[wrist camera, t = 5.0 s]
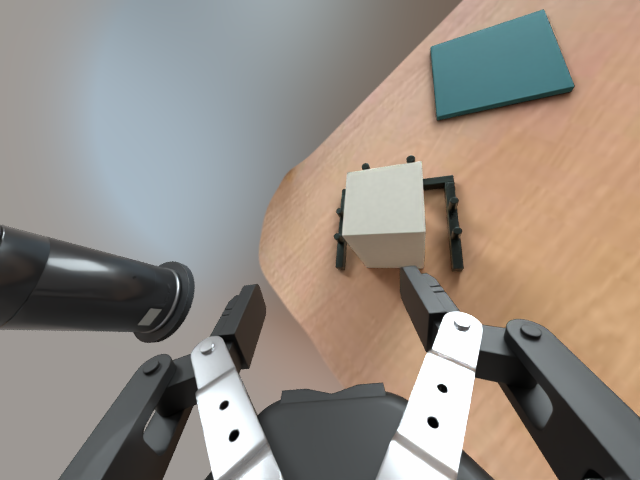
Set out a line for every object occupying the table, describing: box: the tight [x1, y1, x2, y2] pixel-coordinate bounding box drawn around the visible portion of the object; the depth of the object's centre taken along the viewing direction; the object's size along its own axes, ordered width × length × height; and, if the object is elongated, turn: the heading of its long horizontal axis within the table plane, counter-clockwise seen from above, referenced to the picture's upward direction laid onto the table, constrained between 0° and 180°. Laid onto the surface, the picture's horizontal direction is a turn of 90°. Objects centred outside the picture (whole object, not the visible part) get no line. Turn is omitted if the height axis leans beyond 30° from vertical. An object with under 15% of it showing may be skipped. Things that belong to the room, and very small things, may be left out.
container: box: [342, 161, 426, 268], centre depth 20 cm, size 6×6×9 cm
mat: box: [431, 9, 574, 120], centre depth 27 cm, size 12×13×1 cm
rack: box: [334, 155, 464, 271], centre depth 22 cm, size 12×10×6 cm
